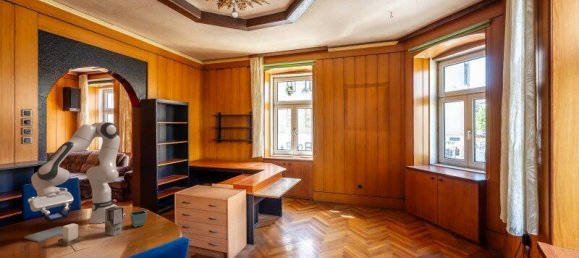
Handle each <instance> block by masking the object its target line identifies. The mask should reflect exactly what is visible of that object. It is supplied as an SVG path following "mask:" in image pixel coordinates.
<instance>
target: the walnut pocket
mask: <svg viewBox="0 0 579 258" xmlns="http://www.w3.org/2000/svg"><path fill="white" fill-rule="evenodd" d="M83 238H84V237H83V236H82V235H79V234H78V238H76V239H73V240H70V241H68V242H67V241H64V240H63V237H61V238H59V239H57V245H61V246H64V247H70V246H72V245H75V244H77V243H80V242H83V241H84V240H83Z"/></svg>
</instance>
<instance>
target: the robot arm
mask: <svg viewBox="0 0 579 258" xmlns="http://www.w3.org/2000/svg"><path fill="white" fill-rule="evenodd" d="M118 131H119V130H118V127H117V125H116V123H115V124H114V123H113V122H110V121H108V122H106V121H102V122H95V123H92V124H88V123H87V124H82V125H81V126H80V127H79V128H78V129H76V131H75V133H74V134H73V135H72V137H71V138H70V139H68V140H67V141H65V142H64V143H63V144H61V146H59V147H58V148H57V150H56V151H55V152H54V153H53V154H52V155H51V157H49V158H48V160H47V161H45V162H44V163H43V164H42V165H41V166H40V167H38V169H37V172H35V173H33V174H32V175H31V178H30V179H31V184H32V187H33V189H34V190H36V194H37V195H35V196H30V197H29V198H27V203H28V204H29V207H30V210H31V211H32V212H40V211H41V213H42V214H43V213H44V214H45V216H46V215H50V214H51V212H50V210H49V209H52V208H56V207H61V206H63V207H64V206H66V207H65V208H64V210H65V211H66V210H68V209H69V208H68V204H73V201H74V199H75V198H74V196H73V195H72V193H71V192H70V191H68V188H66V187H56V186H59V185H62V184H64V183H66V182H67V181H69V180H70V177H71V173H70V171H69V170H67V169H66V168H63V167H61V166H60V165H61V164H62V162H63V161H64V160H65V159H66V157H68V155H69V154H72V153H83V152H85V151H86V150H87V149H88V148H90V146H91V144H92V142H93V140H94V139H95V138H102V139H101V140H102V143H101V145H100V150H99V153H98V155H97V157H98V158H97V159H98V160H99V165H98V166H92V167H90V168H88V169H87V170H86V173H85V176H86V178H87V179H88V181H89V184H90V187H91V193H92V198H91V199H92V201H91V213H90V217H89V220H88V223H90V224H102V223H103V222H104V223H105V209H107V208H110V207H114V206H116V207H119V205H116V204H115V203H116V202H117V199H112V188H111V187H110V186H109V183H113V182H115V181H117V180H118V179H119V174H120V173H119V171H118V170H117V163H116V162H117V156H118V153H119V150H120V144H121V136H120V135H118V133H119V132H118ZM124 215H125V216H126V213H125V212H123V217H125V216H124ZM104 223H103V224H104Z"/></svg>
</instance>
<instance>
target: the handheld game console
mask: <svg viewBox="0 0 579 258" xmlns="http://www.w3.org/2000/svg"><path fill="white" fill-rule="evenodd" d="M65 207H66V206H64V205H63V207H62V208H61V210H60V211H59V212H56V213H50V214H49V215H45V218H46V219H47V220H48V221H49V222H55V221H61V220H64V219H67V216H68V214H69V213H70V212H71V210H72V209H73V208H74V204H73V203H71V204H68V208H69V209H68V210H66V211H65V210H64V208H65Z"/></svg>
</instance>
